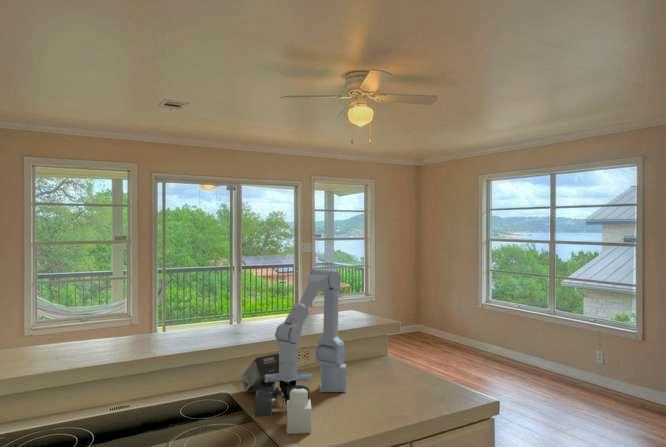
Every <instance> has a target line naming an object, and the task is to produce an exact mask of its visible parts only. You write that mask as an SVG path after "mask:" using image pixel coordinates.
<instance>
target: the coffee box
mask: <svg viewBox="0 0 666 447" xmlns="http://www.w3.org/2000/svg"><path fill="white" fill-rule="evenodd" d="M276 373H279V352H278V353H275V354H268V355H265V356H259V357H255V359H254V360H253V361H252V362H251V363H250V364H249V366H248V367H247V369H246V370H245V371H244V372H243V373H242V374H241V376H240V378H241V381H242V382H241V384H242V387H243V391H244V393H245V394H246V393H247V394H248V393H250V392H256V391H257V390H258V388H259V385H260V382H261V381H265V375H266V374H276Z"/></svg>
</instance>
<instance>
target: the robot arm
mask: <svg viewBox="0 0 666 447" xmlns="http://www.w3.org/2000/svg"><path fill="white" fill-rule="evenodd" d="M341 276H342V275H341V273H340V272H339V271H338V270H337V269H327V268H318V267H313V268H312V269H311V270H310V272H309V274H308V275H307V285H306V287H305V290H304V292H303V294H302V296H301V298H300V300H299V303H295V304H294V305H293V306H292V308H291V310H289V312H288V315H287V316H286V318H285V320H284V322H282V323H281V324H279V325H278V326H277V328H276V331H275V333H274V337H275V339H276V341H277V347H278V353H279V373H276V374H266V375H265V382H276V383H277V382H279V384H278V385H279V387H280V389H281V390H282V396H284V404H285V406H287V400H289V389H290V388H291V387H293V386H296V385H297V382H307V383H311V382H312V374H311V373H301V372H298V342H299V341H300V340H301V337H302V331H303V325H304V324H305V322H306V319H307V318H308V316H309V314H310V311H309V310H310V309H309V307H310V306H311V304H312V303H313V301H314V300H315V299H316V297H317V296H318V295H319V292H322V293H323V297H324V298H323V326H322V327H323V331H322V337H321V338H320V339H319V340H318V341H317V345H316V349H315V358H316V360H317V361H318V364H320V382H319V383H318V384H319V386H318V387H319V392H320V393H346V392H347V385H348V384H347V383H348V380H347V364H346V363H344V362H345V360H346V355H347V353H346V350H345V343H344V341H343V340H342V339H340V337H339V335H338V334H339V305H340V304H339V302H340V300H339V297H340V296H339V295H340V291H341Z"/></svg>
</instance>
